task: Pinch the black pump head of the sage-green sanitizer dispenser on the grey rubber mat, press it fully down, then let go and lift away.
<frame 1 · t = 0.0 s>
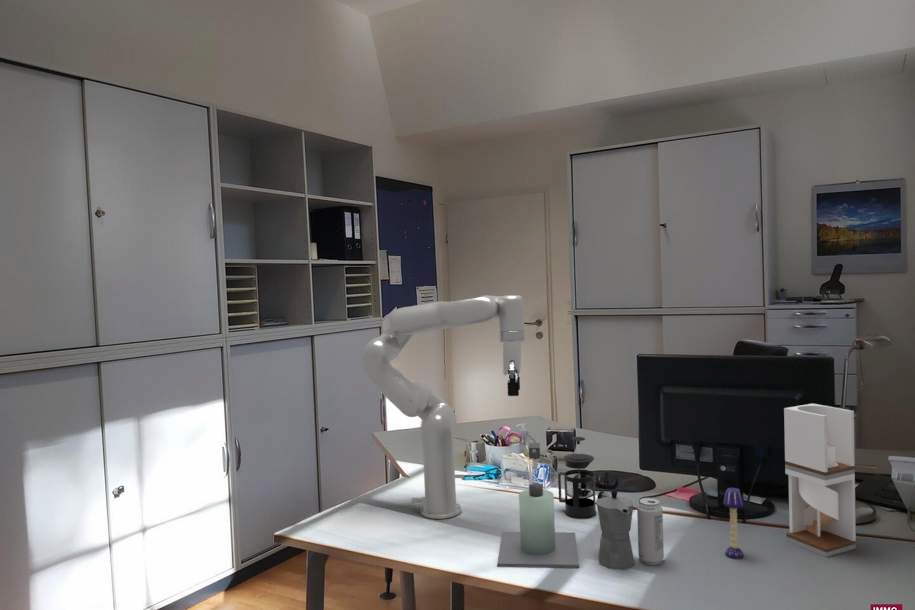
hand: (514, 392, 197), 37 cm above the table, tool pointing down, fingers open, 9 cm apart
french press: (578, 513, 196), on the table
coffeepot: (614, 560, 164), on the table
dispenser bottle: (538, 550, 171), on the table
pump head: (534, 458, 168), point 25 cm above the table, slide at 0.0 cm
energy drink can: (651, 561, 163), on the table
white architectural model: (820, 545, 168), on the table
toy lamp: (734, 555, 164), on the table
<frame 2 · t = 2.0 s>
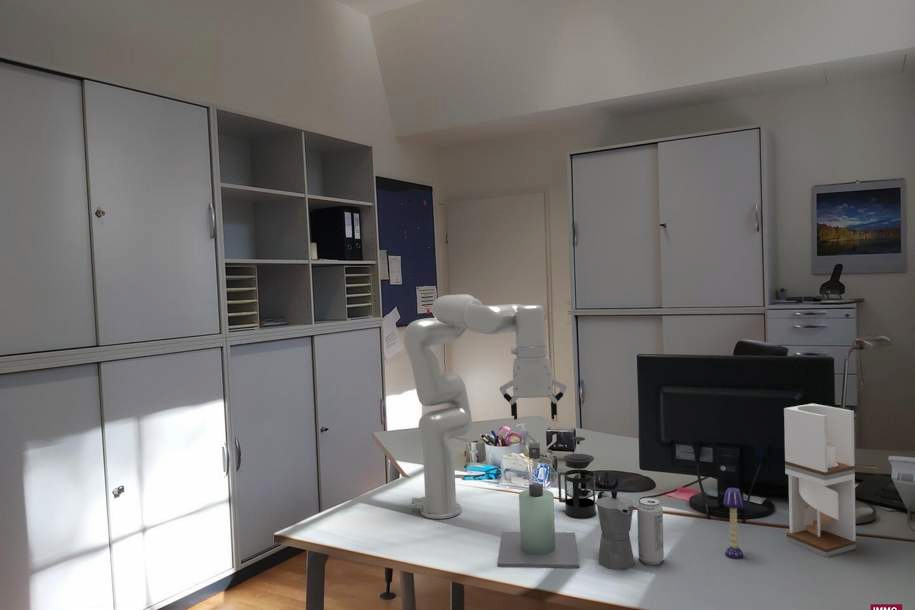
hand: (534, 418, 169), 35 cm above the table, tool pointing down, fingers open, 9 cm apart
nothing on the table moved.
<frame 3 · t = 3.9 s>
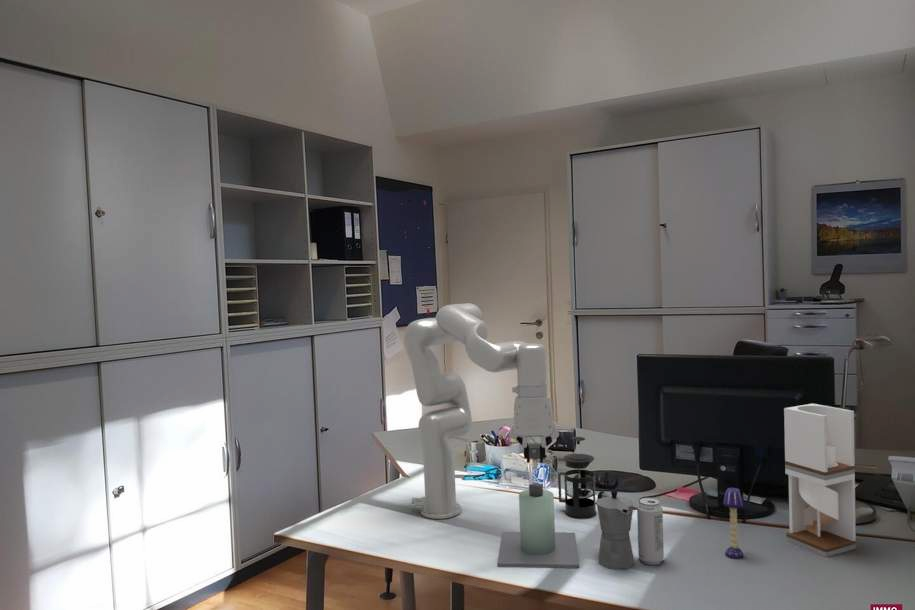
hand: (534, 460, 170), 24 cm above the table, tool pointing down, fingers closed on pump head, 2 cm apart
pump head: (534, 458, 168), point 25 cm above the table, slide at 0.0 cm, touching gripper
everything else where it was.
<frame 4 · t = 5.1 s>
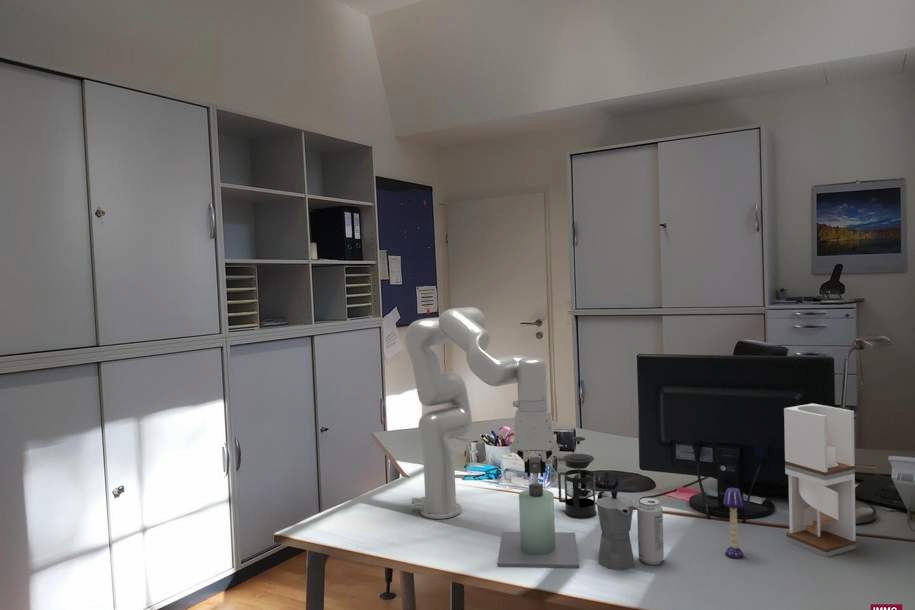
hand: (535, 474, 170), 20 cm above the table, tool pointing down, fingers closed on pump head, 2 cm apart
pump head: (535, 473, 169), point 21 cm above the table, slide at 3.7 cm, touching gripper
everything else where it was.
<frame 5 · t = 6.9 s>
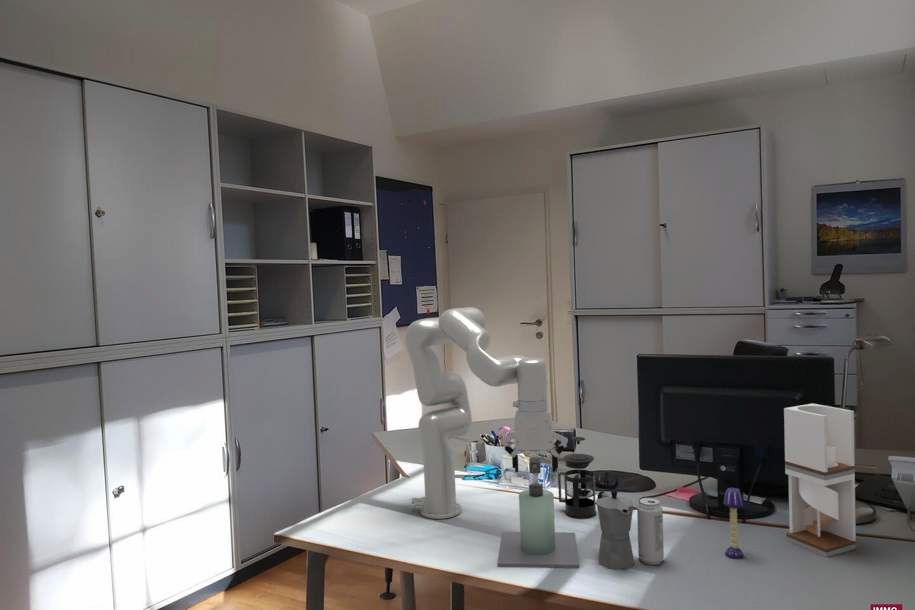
hand: (535, 470, 170), 21 cm above the table, tool pointing down, fingers open, 9 cm apart
pump head: (535, 473, 169), point 21 cm above the table, slide at 3.8 cm
everything else where it was.
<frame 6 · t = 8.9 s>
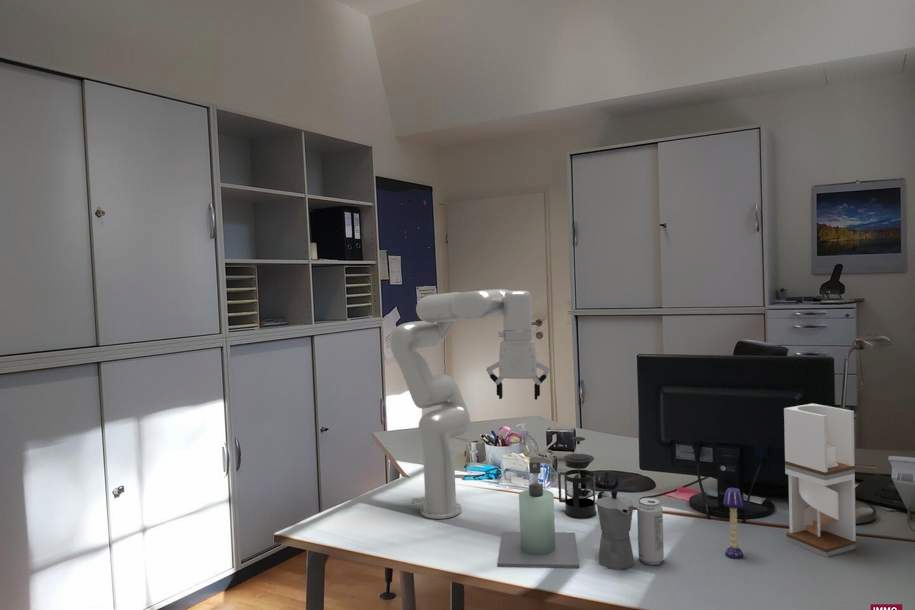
hand: (518, 398, 178), 39 cm above the table, tool pointing down, fingers open, 9 cm apart
nothing on the table moved.
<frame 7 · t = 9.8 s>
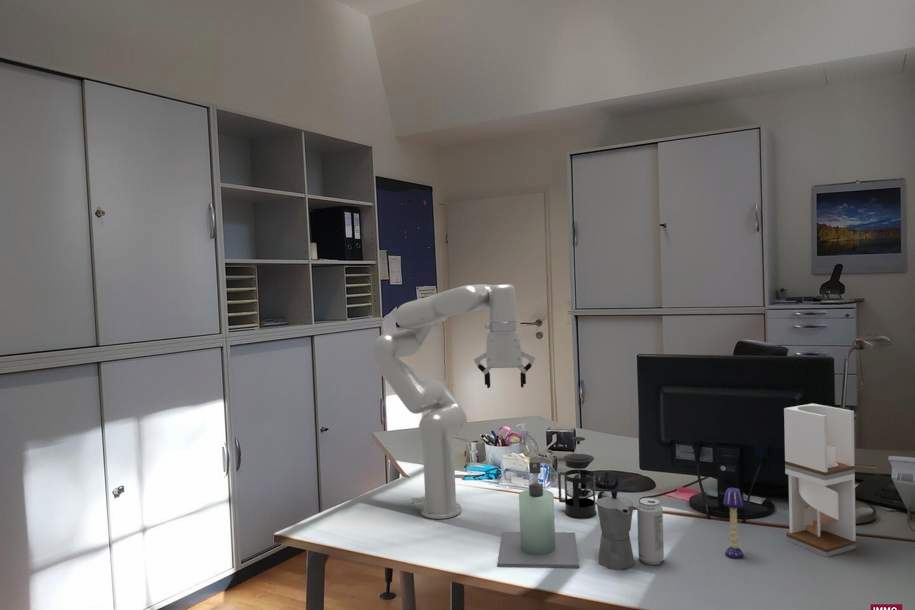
hand: (505, 387, 187), 40 cm above the table, tool pointing down, fingers open, 9 cm apart
nothing on the table moved.
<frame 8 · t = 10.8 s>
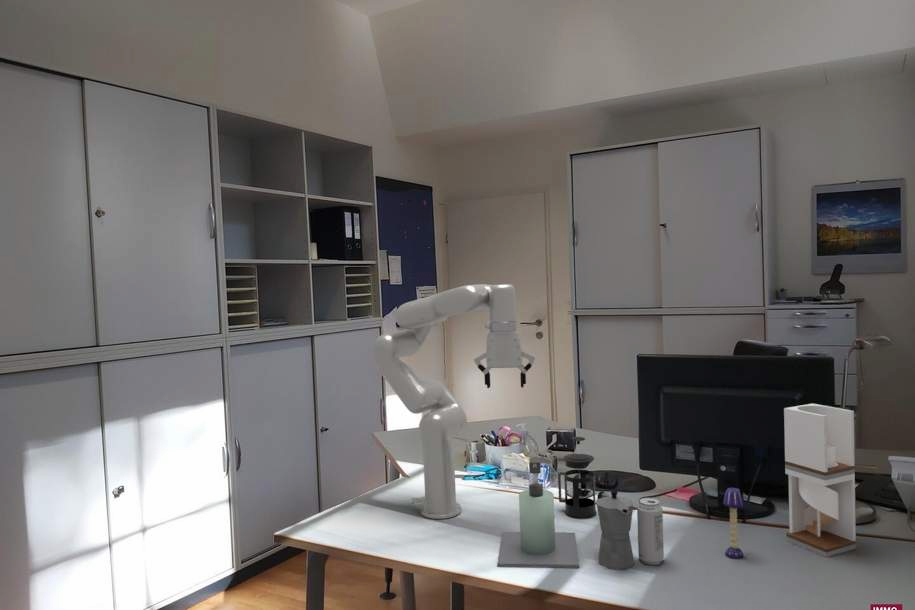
hand: (505, 387, 187), 40 cm above the table, tool pointing down, fingers open, 9 cm apart
nothing on the table moved.
at the end: pump head slide at 3.8 cm; the gripper is holding nothing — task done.
